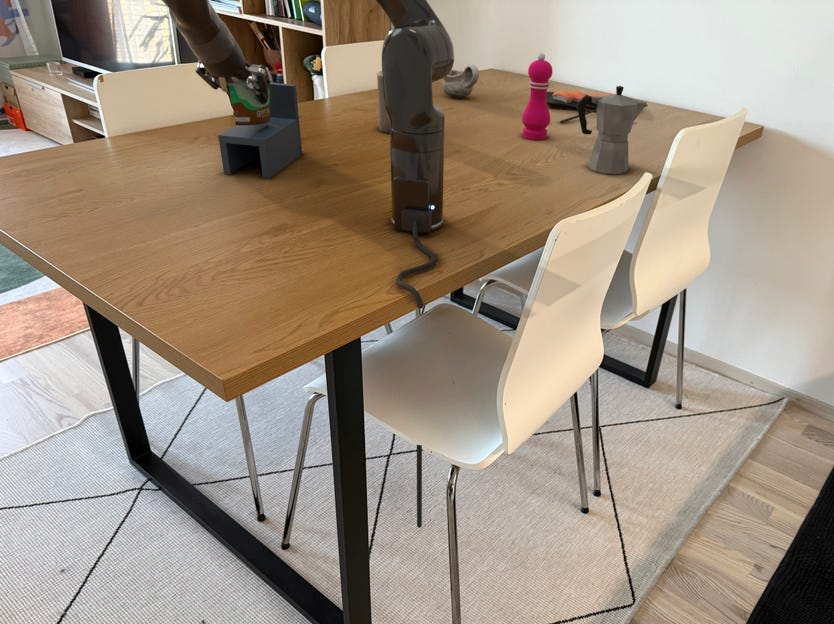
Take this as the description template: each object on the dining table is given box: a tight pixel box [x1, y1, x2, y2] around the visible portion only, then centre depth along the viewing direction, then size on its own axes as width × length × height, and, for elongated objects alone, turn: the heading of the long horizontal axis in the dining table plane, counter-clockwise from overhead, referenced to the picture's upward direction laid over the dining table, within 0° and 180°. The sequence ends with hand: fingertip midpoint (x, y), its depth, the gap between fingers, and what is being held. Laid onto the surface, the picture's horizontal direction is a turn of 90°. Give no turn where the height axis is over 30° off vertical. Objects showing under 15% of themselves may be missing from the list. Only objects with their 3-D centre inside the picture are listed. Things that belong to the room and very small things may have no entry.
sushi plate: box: [546, 90, 614, 124], centre depth 204 cm, size 29×30×4 cm
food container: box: [228, 64, 273, 126], centre depth 144 cm, size 12×6×10 cm, turn 170°
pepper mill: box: [521, 52, 553, 141], centre depth 175 cm, size 7×7×20 cm
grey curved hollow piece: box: [441, 64, 480, 99], centre depth 211 cm, size 10×12×10 cm
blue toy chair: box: [217, 82, 303, 179], centre depth 149 cm, size 18×10×15 cm, turn 170°
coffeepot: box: [576, 85, 649, 175], centre depth 156 cm, size 15×9×18 cm, turn 88°
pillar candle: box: [376, 70, 390, 134], centre depth 176 cm, size 10×10×15 cm
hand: (250, 99), depth 143 cm, fingers closed on food container, 5 cm apart
